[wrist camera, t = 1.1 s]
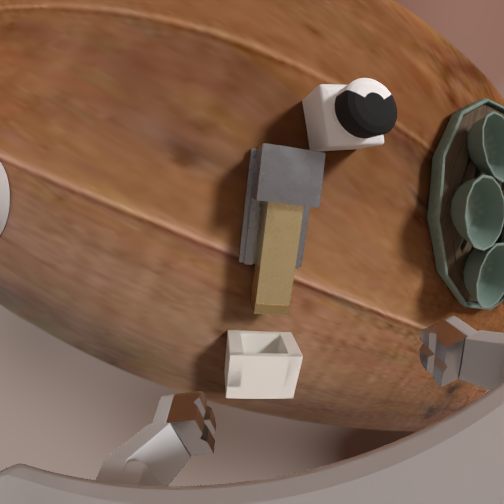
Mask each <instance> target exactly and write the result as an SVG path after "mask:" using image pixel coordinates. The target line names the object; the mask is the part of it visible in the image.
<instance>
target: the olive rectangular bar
mask: <svg viewBox="0 0 504 504" xmlns="http://www.w3.org/2000/svg"><path fill="white" fill-rule="evenodd" d="M303 209H304V206H300V205H292V204H284V203H275V202H267V201H262V209H261V217H260V226H259V234H258V243H257V251H256V260H255V268H254V277H253V285H252V292H251V299H250V301H251V304H252V308H253V311H254V314H265V315H288V313H289V308H290V305H289V304H290V298H291V291H292V285H293V279H294V272H295V266H296V259H297V252H298V246H299V239H300V231H301V224H302V217H303Z"/></svg>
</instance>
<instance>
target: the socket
mask: <svg viewBox="0 0 504 504" xmlns="http://www.w3.org/2000/svg"><path fill="white" fill-rule="evenodd" d="M302 358H303V356H302V354H301V352H300V350H299V347H298V345H297V343H296V341H295V339H294V337H293V335H292V333H291V332H262V331H240V330H228V333H227V344H226V356H225V368H224V374H225V390H226V398H241V399H278V398H293V396H294V392H295V388H296V384H297V380H298V375H299V371H300V367H301V363H302Z"/></svg>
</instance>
